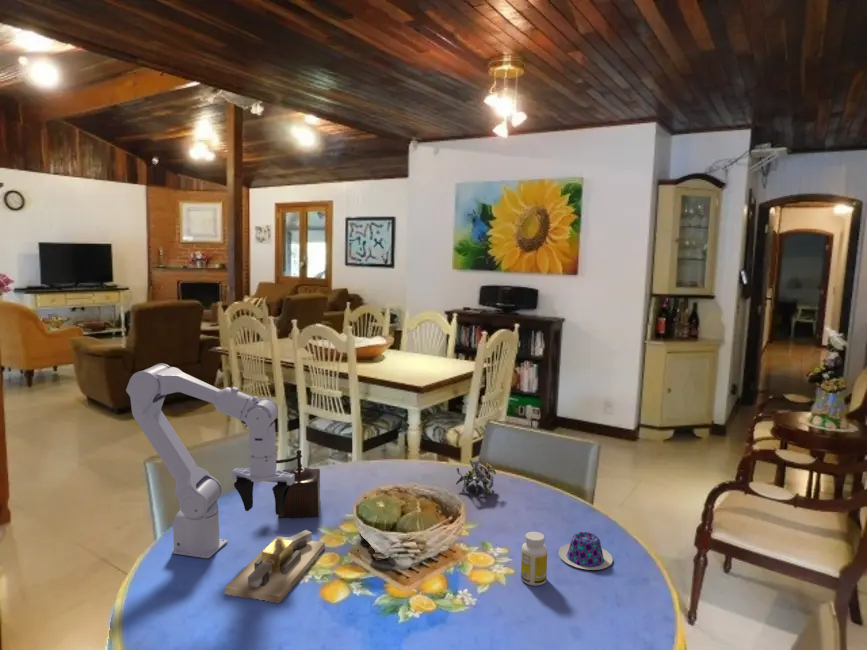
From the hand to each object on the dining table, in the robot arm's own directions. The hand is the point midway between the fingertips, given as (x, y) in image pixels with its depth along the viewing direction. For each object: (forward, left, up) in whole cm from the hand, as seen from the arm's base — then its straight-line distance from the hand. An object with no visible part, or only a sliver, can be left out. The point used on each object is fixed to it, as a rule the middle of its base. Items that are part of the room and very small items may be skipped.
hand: (264, 511), depth 135 cm
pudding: (+72, +15, -10) cm, 74 cm away
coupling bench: (+7, -7, -9) cm, 14 cm away
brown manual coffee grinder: (-4, +21, -10) cm, 23 cm away
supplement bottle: (+61, +3, -10) cm, 62 cm away
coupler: (+7, -7, -8) cm, 13 cm away
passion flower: (+42, +45, -10) cm, 62 cm away
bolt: (+23, +9, -10) cm, 27 cm away
